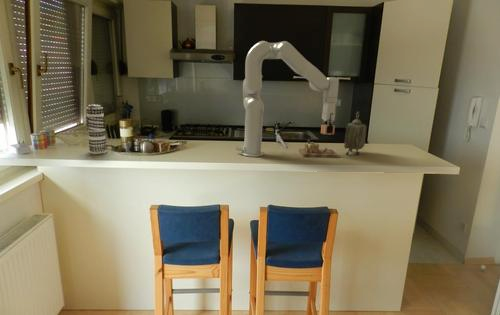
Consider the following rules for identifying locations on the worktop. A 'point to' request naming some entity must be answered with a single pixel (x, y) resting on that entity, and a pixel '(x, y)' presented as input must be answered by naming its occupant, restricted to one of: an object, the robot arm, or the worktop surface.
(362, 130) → the tabletop clock
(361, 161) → the worktop surface
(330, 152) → the gear board
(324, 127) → the terracotta gear
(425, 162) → the worktop surface
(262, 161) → the worktop surface
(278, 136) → the caliper
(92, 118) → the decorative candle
